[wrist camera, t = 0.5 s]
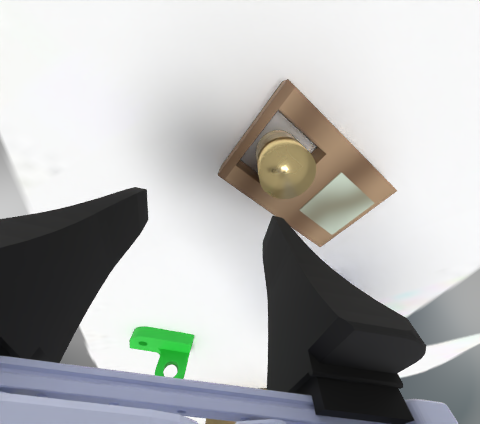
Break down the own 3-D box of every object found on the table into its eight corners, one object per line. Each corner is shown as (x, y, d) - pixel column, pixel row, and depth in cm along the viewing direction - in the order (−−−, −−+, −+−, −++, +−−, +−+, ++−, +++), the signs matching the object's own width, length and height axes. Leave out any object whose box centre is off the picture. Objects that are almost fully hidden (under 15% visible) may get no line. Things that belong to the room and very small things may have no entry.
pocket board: (381, 180, 19) (397, 191, 17) (313, 233, 23) (320, 247, 21) (282, 81, 15) (288, 79, 13) (220, 166, 19) (217, 175, 17)
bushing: (305, 148, 18) (328, 169, 13) (277, 179, 20) (287, 208, 15) (275, 120, 17) (286, 131, 12) (247, 155, 19) (247, 178, 14)
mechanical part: (194, 333, 38) (183, 384, 32) (190, 346, 42) (179, 395, 35) (134, 323, 37) (109, 374, 30) (135, 337, 40) (112, 386, 34)
